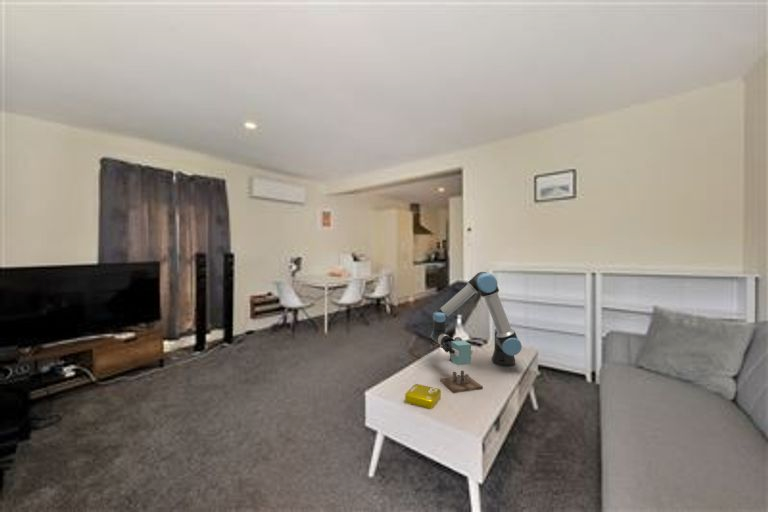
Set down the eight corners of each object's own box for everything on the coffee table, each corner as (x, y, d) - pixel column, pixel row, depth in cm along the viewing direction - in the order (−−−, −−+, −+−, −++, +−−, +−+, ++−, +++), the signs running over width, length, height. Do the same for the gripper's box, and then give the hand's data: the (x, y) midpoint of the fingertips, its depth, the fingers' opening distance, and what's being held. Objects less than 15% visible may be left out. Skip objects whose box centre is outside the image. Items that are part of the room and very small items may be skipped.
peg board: (467, 377, 191) (467, 366, 190) (482, 388, 175) (482, 377, 175) (440, 380, 186) (440, 369, 186) (453, 393, 170) (453, 381, 170)
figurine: (466, 358, 223) (466, 337, 222) (461, 363, 213) (461, 341, 212) (454, 356, 227) (454, 335, 227) (448, 361, 217) (448, 339, 217)
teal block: (463, 359, 185) (463, 340, 185) (470, 363, 177) (470, 344, 177) (450, 360, 183) (451, 341, 183) (457, 365, 175) (458, 345, 175)
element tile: (415, 390, 174) (415, 382, 173) (441, 397, 167) (441, 388, 166) (403, 402, 160) (403, 393, 160) (432, 410, 153) (432, 400, 153)
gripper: (461, 346, 200) (481, 358, 178) (430, 348, 194) (448, 361, 173) (461, 334, 200) (481, 345, 178) (430, 336, 194) (448, 348, 172)
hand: (465, 353), depth 175 cm, fingers closed on teal block, 8 cm apart
